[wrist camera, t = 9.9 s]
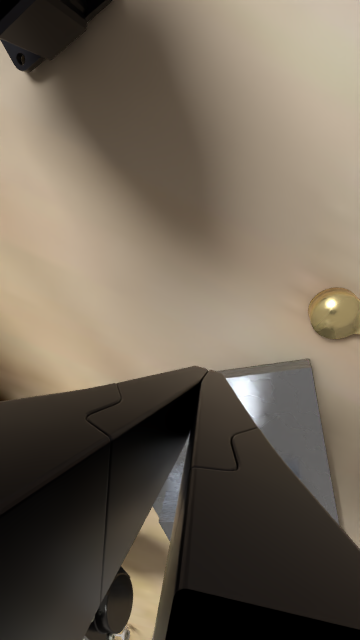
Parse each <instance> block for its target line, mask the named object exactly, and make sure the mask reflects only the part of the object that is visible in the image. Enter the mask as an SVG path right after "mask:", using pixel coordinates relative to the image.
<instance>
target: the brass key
mask: <svg viewBox="0 0 360 640" xmlns="http://www.w3.org/2000/svg"><path fill="white" fill-rule="evenodd" d="M308 314H309V318H310V320H311V323H312V326H313V328H314V330H315V331H316V332H317V333H318V334H319V335H321V336H323V337H325V338H329V339H341V338H345V337H348V336H350V335H352V334H360V299H358V298H357V297H356V296H355V294H354V293H352V292H351V291H349V290H347V289H344V288H330V289H326V290H324V291H322V292H320V293H319V294H317V295H316V296H315V297H314V298H313V299H312V301H311V302H310V305H309V308H308Z"/></svg>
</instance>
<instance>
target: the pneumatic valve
mask: <svg viewBox="0 0 360 640" xmlns="http://www.w3.org/2000/svg"><path fill="white" fill-rule="evenodd" d="M132 603H133V588H132V583H131V580H130V576H129V575H128V574H127V573H126V571H125V570H124V569H123V568H122V567H121V566H120V568H119V570H118V572H117V574H116V576H115V578H114V580H113V581H112V583H111V585H110V587H109V589H108V591H107V593H106V595H105V597H104V598H103V600H102V602H101V603H100V605H99V608H98V610H97V612H96V614H95V615H94V617H93V620H92V622H91V624H90V626H89V628H88V630H87V632H86V634H85V636H84V638H83V640H114V639H115V634H118V633H120V632H121V631H122V630H123V629H124V627H125V626H126V624H127V622H128V620H129V617H130V614H131V610H132Z"/></svg>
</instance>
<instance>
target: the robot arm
mask: <svg viewBox="0 0 360 640" xmlns="http://www.w3.org/2000/svg"><path fill="white" fill-rule="evenodd" d="M111 1H112V0H0V40H1V42H2V44H3V45H4V47H5V49H6V51H7V53H8V54H9V56H10V58H11V60H12V61H13V63H14V65H15V66H16V68H17V69H19V70H20V71H23V72H28V73H29V72H31V71H32V70H33V69H34V68H36V67H37V66H38V65H39V64H40V63H41V62H42V61H44V60H45V59H48V60H52V59H53V58H54V57H56V56H57V55H58V54H59V53H60V52H61V51H62V50H64V49H65V48H66V47H67V46H68V45H69V44H71V43H72V42H73V41H74V40H75V39H76V38H78V37H79V36H80V35H81V34H82V33H83V32H85V31H86V27H87V22H88V21H89V20H91V19H92V18H93V17H94V16H95V15H96V14H97V13H99V12H100V11H101V10H102V9H103V8H104V7H105V6H107V5H108V4H109V3H110V2H111ZM22 55H24V57H25V63H24V65H23V64H22V61H21V57H22ZM189 435H190V436H189ZM188 438H189V441H188V446H187V452H186V457H185V463H184V468H183V474H182V479H181V485H180V490H179V496H178V502H177V507H176V513H175V518H174V524H173V529H172V535H171V541H170V546H169V552H168V557H167V563H166V568H165V574H164V580H163V585H162V591H161V596H160V602H159V607H158V613H157V618H156V624H155V630H154V635H153V640H360V549H359V548H358V547H357V545H356V544H355V543H354V542H353V541H352V540H351V538H350V537H349V536H348V535H347V534H346V533H345V532H344V530H343V529H342V528H341V527H340V526H339V525H338V523H337V522H336V521H335V520H334V519H333V518H332V516H331V515H330V514H329V513H328V512H327V511H326V510H325V508H324V507H323V506H322V505H321V504H320V503H319V501H318V500H317V499H316V498H315V497H314V496H313V495H312V493H311V492H310V491H309V490H308V489H307V488H306V486H305V485H304V484H303V483H302V482H301V481H300V479H299V478H298V477H297V476H296V475H295V474H294V473H293V471H292V470H291V469H290V468H289V467H288V465H287V464H286V463H285V462H284V461H283V459H282V458H281V457H280V456H279V455H278V453H277V452H276V451H275V449H274V448H273V447H272V445H271V444H270V443H269V441H268V440H267V438H266V437H265V436H264V434H263V433H262V431H261V430H260V429H259V428H258V426H257V425H256V423H255V422H254V420H253V419H252V417H251V416H250V414H249V413H248V411H247V410H246V408H245V407H244V405H243V404H242V402H241V401H240V399H239V398H238V396H237V395H236V393H235V392H234V390H233V389H232V387H231V386H230V384H229V383H228V381H227V380H226V378H225V377H224V375H223V374H222V373H219V372H216V371H212V370H209V371H208V370H207V369H205V368H202V367H198V366H192V367H188V368H183V369H179V370H174V371H170V372H165V373H160V374H156V375H151V376H147V377H142V378H138V379H133V380H129V381H124V382H120V383H117V384H116V383H113V384H108V385H104V386H98V387H93V388H88V389H82V390H76V391H70V392H63V393H56V394H49V395H42V396H35V397H28V398H21V399H14V400H7V401H0V640H83V638H84V636H85V634H86V632H87V630H88V628H89V626H90V624H91V622H92V620H93V617H94V615H95V614H96V612H97V610H98V608H99V605H100V603H101V602H102V600H103V598H104V597H105V595H106V593H107V591H108V589H109V587H110V585H111V583H112V581H113V580H114V578H115V576H116V574H117V572H118V570H119V568H120V566H121V564H122V563H123V561H124V559H125V557H126V555H127V553H128V551H129V549H130V548H131V546H132V544H133V542H134V540H135V538H136V536H137V534H138V532H139V531H140V529H141V527H142V525H143V523H144V521H145V519H146V517H147V515H148V514H149V512H150V510H151V508H152V506H153V504H154V502H155V500H156V499H157V497H158V495H159V493H160V491H161V489H162V487H163V485H164V483H165V482H166V480H167V478H168V476H169V474H170V472H171V470H172V468H173V467H174V465H175V463H176V461H177V459H178V457H179V455H180V453H181V451H182V450H183V448H184V446H185V444H186V442H187V440H188Z"/></svg>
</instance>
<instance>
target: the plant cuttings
mask: <svg viewBox="0 0 360 640" xmlns="http://www.w3.org/2000/svg"><path fill="white" fill-rule="evenodd" d="M126 627H127V626H126ZM127 628H128V627H127ZM127 628H126V629H125V627H124V630H123V633H122V634H115V636H121V637H122V640H129V638H130V631H129V630H127ZM126 633H127V634H126ZM125 637H126V638H125Z"/></svg>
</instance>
